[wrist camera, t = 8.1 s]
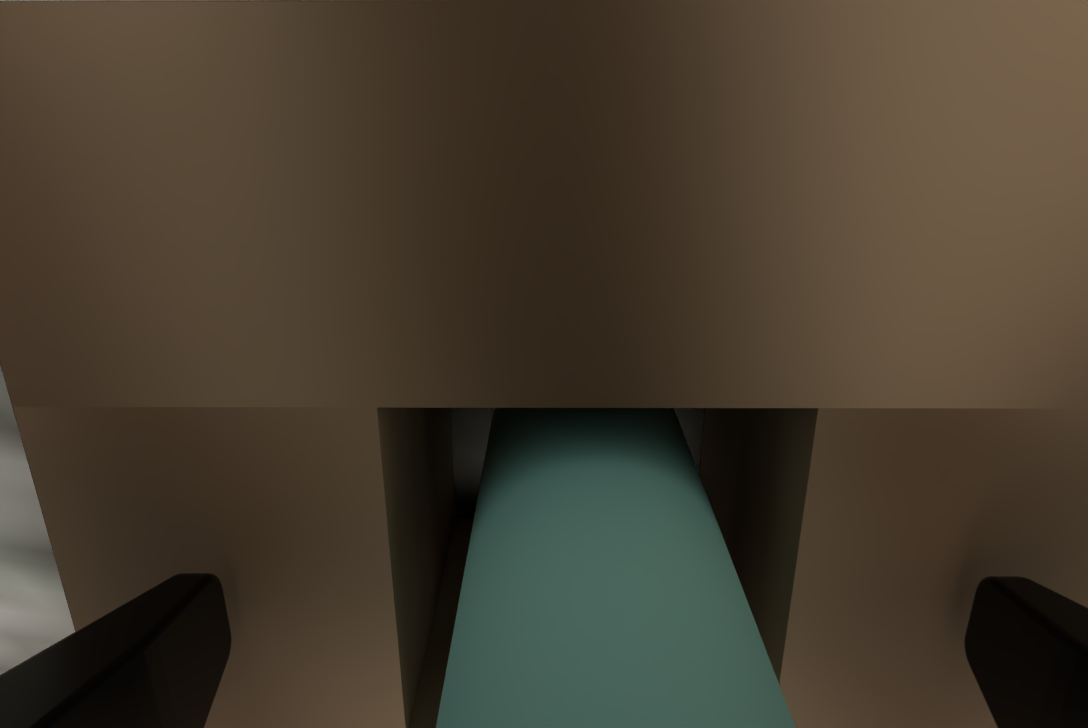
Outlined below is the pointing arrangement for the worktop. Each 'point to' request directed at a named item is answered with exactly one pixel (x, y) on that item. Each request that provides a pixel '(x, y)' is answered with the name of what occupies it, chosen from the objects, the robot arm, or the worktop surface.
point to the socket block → (550, 311)
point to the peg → (601, 585)
